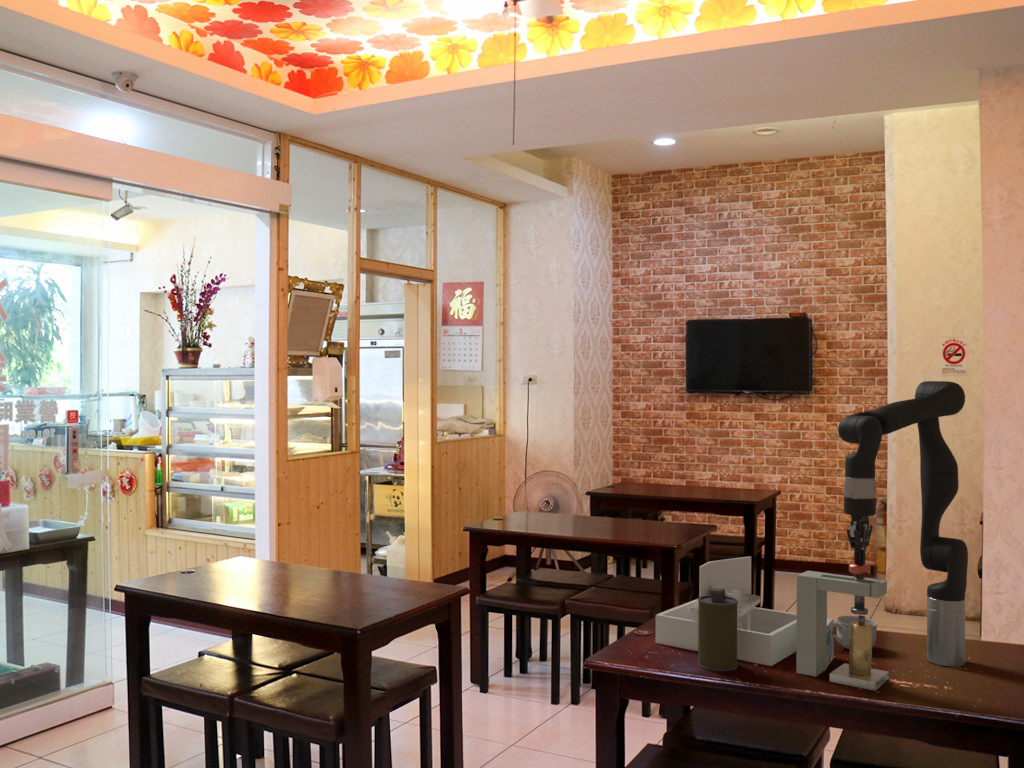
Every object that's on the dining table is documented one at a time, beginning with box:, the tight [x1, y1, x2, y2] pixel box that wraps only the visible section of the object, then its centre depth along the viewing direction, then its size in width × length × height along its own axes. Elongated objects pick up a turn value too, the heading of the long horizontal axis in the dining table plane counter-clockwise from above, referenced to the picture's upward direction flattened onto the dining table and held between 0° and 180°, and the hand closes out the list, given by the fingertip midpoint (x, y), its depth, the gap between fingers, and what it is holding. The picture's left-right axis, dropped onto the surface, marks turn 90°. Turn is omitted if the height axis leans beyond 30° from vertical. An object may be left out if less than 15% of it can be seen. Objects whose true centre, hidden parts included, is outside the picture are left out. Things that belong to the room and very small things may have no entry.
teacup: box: [834, 614, 878, 651], centre depth 254 cm, size 14×11×8 cm
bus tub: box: [655, 598, 797, 667], centre depth 258 cm, size 27×34×8 cm
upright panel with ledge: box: [688, 555, 762, 631], centre depth 259 cm, size 28×21×23 cm
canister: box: [696, 588, 739, 672], centre depth 237 cm, size 11×10×20 cm
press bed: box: [829, 663, 890, 692], centre depth 225 cm, size 11×11×2 cm
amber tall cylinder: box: [848, 614, 873, 676], centre depth 225 cm, size 5×5×14 cm
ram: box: [848, 562, 871, 616], centre depth 226 cm, size 5×5×12 cm
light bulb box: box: [827, 617, 835, 667], centre depth 242 cm, size 11×7×11 cm, turn 151°
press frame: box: [795, 570, 888, 678], centre depth 228 cm, size 8×20×25 cm, turn 52°
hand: (859, 564), depth 226 cm, fingers closed
